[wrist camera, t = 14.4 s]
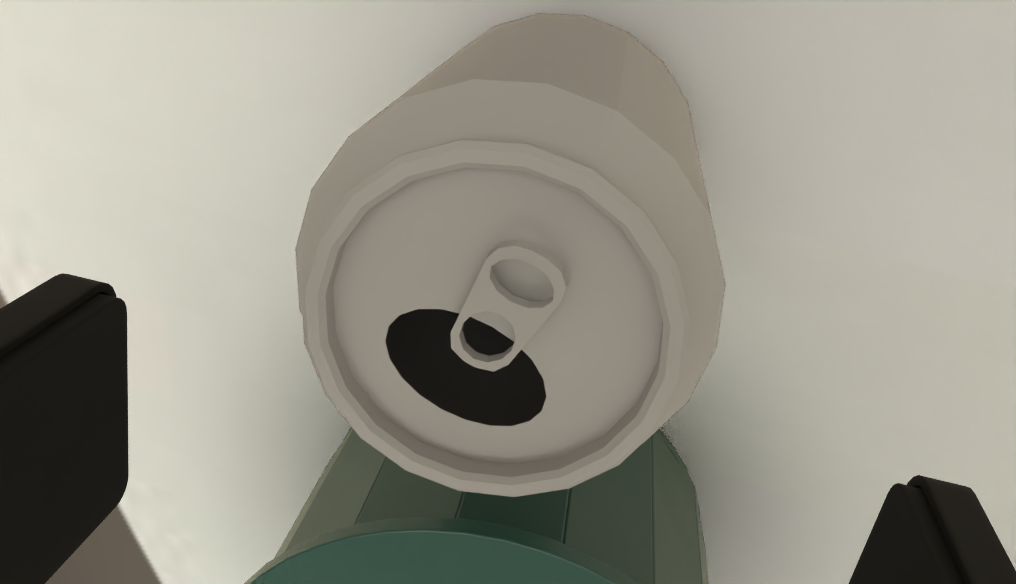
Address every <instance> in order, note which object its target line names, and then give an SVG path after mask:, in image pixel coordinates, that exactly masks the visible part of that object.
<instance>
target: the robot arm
mask: <svg viewBox="0 0 1016 584" xmlns="http://www.w3.org/2000/svg"><path fill="white" fill-rule="evenodd" d="M127 482H128V382H127V310H126V305H125V303H124V301H123V300H122V299H120V298H116V294H115V291H114V289H113V287H112V286H110V285H109V284H107V283H103V282H99V281H95V280H90V279H86V278H82V277H78V276H73V275H69V274H63V273H62V274H59V275H57V276H54V277H53V278H51V279H49V280H48V281H46V282H44V283H43V284H41V285H39V286H38V287H36V288H34V289H33V290H31V291H29V292H28V293H26V294H24V295H23V296H21V297H19V298H18V299H16V300H14V301H12V302H11V303H9V304H7V305H6V306H4V307H3V308H1V309H0V584H45V583H46V582H47V581H48V580H49V578H50V577H51V576H52V575H53V574H54V573H55V572H56V571H57V570H58V569H59V568H60V567H61V565H62V564H63V563H64V562H65V561H66V560H67V559H68V558H69V557H70V556H71V555H72V554H73V553H74V551H75V550H76V549H77V548H78V547H79V546H80V545H81V544H82V543H83V542H84V541H85V540H86V538H87V537H88V536H89V535H90V534H91V533H92V532H93V531H94V530H95V529H96V528H97V527H98V526H99V524H100V523H101V522H102V521H103V520H104V519H105V518H106V517H107V516H108V515H109V514H110V513H111V511H112V510H113V509H114V508H115V507H116V506H117V505H118V503H119V502H120V500H121V498H122V497H123V494H124V492H125V489H126V486H127ZM849 584H1016V571H1015V569H1014V567H1013V565H1012V563H1011V561H1010V559H1009V557H1008V555H1007V554H1006V552H1005V550H1004V548H1003V546H1002V544H1001V542H1000V540H999V538H998V536H997V535H996V533H995V531H994V529H993V527H992V525H991V523H990V521H989V519H988V517H987V515H986V514H985V512H984V510H983V508H982V506H981V504H980V502H979V500H978V498H977V496H976V495H975V493H974V492H973V491H972V489H971V488H969V487H966V486H962V485H958V484H953V483H949V482H945V481H941V480H936V479H932V478H928V477H924V476H920V475H917V476H915V477H913V478H912V479H911V480H910V481H909V482H908V484H907V485H903V484H899V483H897V484H894V485H893V486H892V488H891V489H890V491H889V492H888V494H887V497H886V499H885V501H884V503H883V506H882V508H881V510H880V513H879V515H878V517H877V520H876V522H875V524H874V526H873V529H872V531H871V533H870V536H869V538H868V540H867V543H866V545H865V547H864V549H863V552H862V554H861V556H860V559H859V561H858V563H857V566H856V568H855V570H854V572H853V575H852V577H851V579H850V582H849Z"/></svg>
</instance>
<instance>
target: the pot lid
mask: <svg viewBox="0 0 1016 584" xmlns="http://www.w3.org/2000/svg"><path fill="white" fill-rule="evenodd" d="M244 584H638V583H637V582H635V581H634V580H632V579H631V578H630V577H628V576H627V575H625V574H624V573H622V572H621V571H619V570H617V569H615V568H613V567H612V566H610V565H608V564H606V563H604V562H602V561H601V560H599V559H597V558H595V557H593V556H591V555H589V554H588V553H586V552H583V551H581V550H578V549H576V548H573V547H571V546H568V545H566V544H563V543H561V542H559V541H556V540H554V539H551V538H549V537H545V536H542V535H538V534H535V533H531V532H528V531H524V530H521V529H517V528H514V527H511V526H505V525H500V524H494V523H488V522H483V521H477V520H472V519H459V518H445V517H407V518H390V519H384V520H377V521H371V522H365V523H358V524H354V525H351V526H347V527H344V528H340V529H337V530H333V531H330V532H326V533H323V534H321V535H319V536H316V537H314V538H312V539H310V540H307V541H305V542H303V543H301V544H298V545H296V546H294V547H292V548H291V549H289V550H287V551H286V552H284V553H283V554H281V555H279V556H278V557H276V558H275V559H273V560H271V561H270V562H268V563H267V564H266V565H264V566H263V567H262V568H261V569H260V570H259V571H258V572H256V573H255V574H254V575H253V576H252V577H251V578H250V579H249V580H247V581H246V582H245V583H244Z"/></svg>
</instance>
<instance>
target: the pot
mask: <svg viewBox="0 0 1016 584" xmlns="http://www.w3.org/2000/svg"><path fill="white" fill-rule="evenodd" d="M407 517H445V518H459V519H472V520H477V521H483V522H488V523H494V524H500V525H505V526H511V527H514V528H517V529H521V530H524V531H528V532H531V533H535V534H538V535H542V536H545V537H549V538H551V539H554V540H556V541H559V542H561V543H563V544H566V545H568V546H571V547H573V548H576V549H578V550H581V551H583V552H586V553H588V554H589V555H591V556H593V557H595V558H597V559H599V560H601V561H602V562H604V563H606V564H608V565H610V566H612V567H613V568H615V569H617V570H619V571H621V572H622V573H624V574H625V575H627V576H628V577H630V578H631V579H632V580H634V581H635V582H637V583H638V584H708V574H707V563H706V553H705V544H704V538H703V532H702V527H701V521H700V512H699V505H698V501H697V497H696V491H695V486H694V485H693V482H692V481H691V479H690V476H689V474H688V472H687V469H686V467H685V465H684V463H683V462H682V460H681V458H680V457H679V455H678V453H677V452H676V450H675V448H674V447H673V445H672V444H671V443H670V442H669V440H668V439H667V438H666V437H665V436H664V434H663V433H662V432H661V431H660V429H658V430H657V431H656V432H655V433H654V434H653V435H652V436H650V437H649V438H648V439H647V440H646V441H645V442H644V443H642V444H641V445H640V446H639V447H638V448H637V449H636V450H635V451H633V452H632V453H631V454H630V455H629V456H628V457H627V458H626V459H625V460H624V461H623V462H622V463H621V464H620V465H618V466H616V467H614V468H612V469H610V470H608V471H605V472H603V473H601V474H599V475H597V476H595V477H593V478H591V479H588V480H586V481H584V482H582V483H580V484H578V485H576V486H574V487H571V488H569V489H563V490H557V491H550V492H544V493H537V494H531V495H524V496H518V497H509V496H500V495H491V494H482V493H473V492H464V491H458V490H455V489H452V488H450V487H447V486H445V485H442V484H439V483H437V482H434V481H432V480H429V479H426V478H424V477H421V476H419V475H416V474H413V473H411V472H408V471H406V470H404V469H403V468H401V467H400V466H399V465H397V464H396V463H395V462H393V461H392V460H390V459H389V458H388V457H386V456H385V455H384V454H382V453H381V452H379V451H378V450H377V449H375V448H374V447H372V446H371V445H370V444H368V443H367V442H366V441H364V440H363V439H361V438H360V437H359V436H358V434H357V433H356V432H355V431H354V429H353V428H352V427H351V428H350V430H349V432H348V434H347V436H346V437H345V439H344V440H343V442H342V443H341V445H340V446H339V448H338V449H337V450H336V452H335V453H334V455H333V456H332V458H331V459H330V461H329V463H328V465H327V466H326V468H325V470H324V472H323V473H322V475H321V477H320V479H319V480H318V482H317V484H316V486H315V487H314V489H313V491H312V493H311V494H310V496H309V498H308V500H307V502H306V503H305V505H304V507H303V509H302V510H301V512H300V514H299V516H298V517H297V519H296V521H295V523H294V524H293V526H292V528H291V530H290V531H289V533H288V535H287V537H286V538H285V540H284V542H283V544H282V546H281V547H280V549H279V551H278V553H277V554H276V556H275V558H276V557H278V556H279V555H281V554H283V553H284V552H286V551H287V550H289V549H291V548H292V547H294V546H296V545H298V544H301V543H303V542H305V541H307V540H310V539H312V538H314V537H316V536H319V535H321V534H323V533H326V532H330V531H333V530H337V529H340V528H344V527H347V526H351V525H354V524H358V523H365V522H371V521H377V520H384V519H390V518H407ZM275 558H274V559H275Z"/></svg>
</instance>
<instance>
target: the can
mask: <svg viewBox="0 0 1016 584" xmlns="http://www.w3.org/2000/svg"><path fill="white" fill-rule="evenodd" d="M295 250H296V264H297V278H298V292H299V307H300V312H301V314H302V317H303V329H304V343H305V346H306V348H307V351H308V353H309V356H310V358H311V360H312V363H313V365H314V368H315V370H316V373H317V375H318V378H319V380H320V383H321V385H322V388H323V390H324V392H325V395H326V396H327V397H328V398H329V400H330V401H331V402H332V403H333V404H334V406H335V407H336V408H337V409H338V411H339V412H340V413H341V414H342V416H343V417H344V418H345V419H346V421H347V422H348V423H349V424H350V426H351V427H352V428H353V429H354V431H355V432H356V433H357V434H358V436H359V437H360V438H361V439H363V440H364V441H366V442H367V443H368V444H370V445H371V446H372V447H374V448H375V449H377V450H378V451H379V452H381V453H382V454H384V455H385V456H386V457H388V458H389V459H390V460H392V461H393V462H395V463H396V464H397V465H399V466H400V467H401V468H403V469H404V470H406V471H408V472H411V473H413V474H416V475H419V476H421V477H424V478H426V479H429V480H432V481H434V482H437V483H439V484H442V485H445V486H447V487H450V488H452V489H455V490H458V491H464V492H473V493H482V494H491V495H500V496H509V497H518V496H524V495H531V494H537V493H544V492H550V491H557V490H563V489H569V488H571V487H574V486H576V485H578V484H580V483H582V482H584V481H586V480H588V479H591V478H593V477H595V476H597V475H599V474H601V473H603V472H605V471H608V470H610V469H612V468H614V467H616V466H618V465H620V464H621V463H622V462H623V461H624V460H625V459H626V458H627V457H628V456H629V455H630V454H631V453H632V452H633V451H635V450H636V449H637V448H638V447H639V446H640V445H641V444H642V443H644V442H645V441H646V440H647V439H648V438H649V437H650V436H652V435H653V434H654V433H655V432H656V431H657V430H658V429H659V428H660V427H661V426H662V425H663V424H664V423H665V422H666V421H668V420H669V419H670V418H671V417H672V416H673V415H674V414H675V413H676V412H677V411H678V410H679V409H680V408H681V407H682V406H684V405H685V404H686V403H687V402H688V400H689V398H690V396H691V395H692V393H693V391H694V389H695V387H696V385H697V383H698V381H699V379H700V378H701V376H702V374H703V372H704V370H705V368H706V366H707V364H708V362H709V361H710V359H711V357H712V355H713V353H714V351H715V349H716V347H717V341H718V334H719V327H720V319H721V312H722V305H723V298H724V291H725V279H724V275H723V270H722V265H721V260H720V256H719V251H718V246H717V241H716V237H715V232H714V227H713V222H712V218H711V213H710V208H709V203H708V199H707V194H706V189H705V184H704V180H703V175H702V170H701V165H700V160H699V156H698V151H697V146H696V142H695V137H694V132H693V127H692V123H691V118H690V113H689V109H688V104H687V101H686V99H685V98H684V96H683V94H682V93H681V91H680V89H679V87H678V86H677V84H676V82H675V81H674V79H673V77H672V76H671V74H670V72H669V71H668V69H667V67H666V66H665V64H664V63H663V62H662V61H661V60H660V59H659V58H658V57H656V56H655V55H654V54H653V53H652V52H650V51H649V50H648V49H647V48H646V47H645V46H643V45H642V44H641V43H640V42H639V41H638V40H636V39H635V38H634V37H633V36H632V35H630V34H629V33H628V32H625V31H623V30H620V29H618V28H615V27H613V26H610V25H607V24H605V23H602V22H600V21H597V20H595V19H592V18H590V17H587V16H582V15H561V14H540V13H538V14H535V15H531V16H528V17H525V18H521V19H518V20H514V21H511V22H507V23H504V24H500V25H497V26H494V27H493V28H491V29H490V30H488V31H487V32H486V33H484V34H483V35H481V36H480V37H478V38H477V39H476V40H474V41H473V42H471V43H470V44H468V45H467V46H466V47H464V48H463V49H461V50H460V51H458V52H457V53H456V54H455V55H453V56H452V57H451V58H449V59H448V60H447V61H446V62H444V63H443V64H442V65H440V66H439V67H438V68H437V69H435V70H434V71H433V72H431V73H430V74H429V75H428V76H426V77H425V78H424V79H422V80H421V81H420V82H418V83H417V84H416V85H415V86H413V87H412V88H411V89H409V90H408V91H407V92H406V93H404V94H403V95H402V96H400V97H399V98H398V99H397V100H395V101H394V102H393V103H391V104H390V105H389V106H388V107H386V108H385V109H384V110H382V111H381V112H380V113H379V114H377V115H376V116H375V117H373V118H372V119H371V120H370V121H368V122H367V123H366V124H364V125H363V126H362V127H360V128H359V129H358V130H357V131H355V132H354V133H353V134H351V135H350V136H349V137H348V138H347V140H346V141H345V143H344V144H343V145H342V147H341V148H340V150H339V151H338V152H337V154H336V155H335V157H334V158H333V160H332V161H331V162H330V164H329V165H328V167H327V168H326V169H325V171H324V172H323V174H322V175H321V177H320V178H319V179H318V181H317V182H316V184H315V185H314V187H313V188H312V190H311V193H310V197H309V201H308V204H307V208H306V212H305V215H304V219H303V223H302V226H301V230H300V234H299V238H298V241H297V245H296V249H295Z"/></svg>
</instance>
